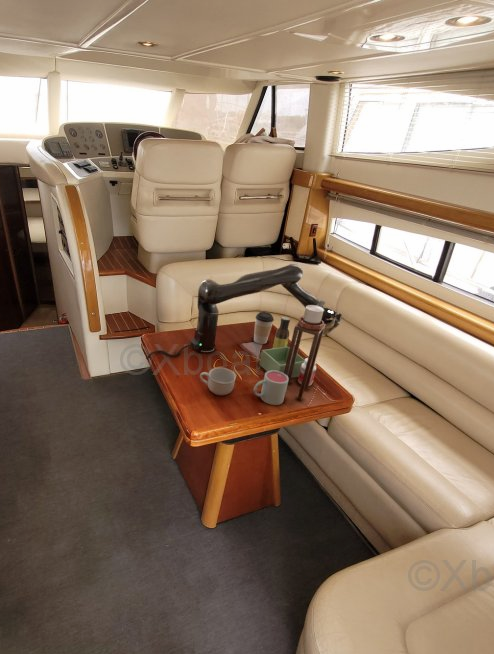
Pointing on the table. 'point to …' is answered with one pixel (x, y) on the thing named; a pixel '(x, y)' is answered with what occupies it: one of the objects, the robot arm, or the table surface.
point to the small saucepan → (313, 314)
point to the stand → (317, 332)
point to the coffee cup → (262, 327)
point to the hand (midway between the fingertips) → (323, 310)
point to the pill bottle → (304, 371)
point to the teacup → (219, 380)
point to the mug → (273, 387)
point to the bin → (279, 360)
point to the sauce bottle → (282, 333)
